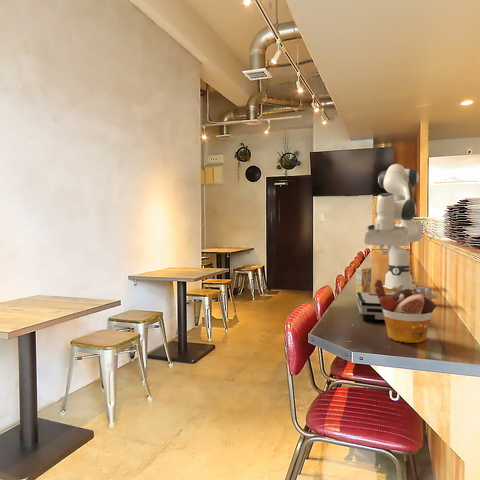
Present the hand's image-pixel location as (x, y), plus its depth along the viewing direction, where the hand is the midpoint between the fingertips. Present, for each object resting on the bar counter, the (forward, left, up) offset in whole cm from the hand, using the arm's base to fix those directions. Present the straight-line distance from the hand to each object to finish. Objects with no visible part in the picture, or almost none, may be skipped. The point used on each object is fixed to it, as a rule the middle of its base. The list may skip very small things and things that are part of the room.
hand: (385, 254), depth 193 cm
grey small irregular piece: (-8, +16, -24) cm, 30 cm away
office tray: (+26, +7, -25) cm, 36 cm away
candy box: (-12, -15, -24) cm, 31 cm away
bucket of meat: (+58, +24, -24) cm, 67 cm away
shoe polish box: (-3, 0, -22) cm, 22 cm away
